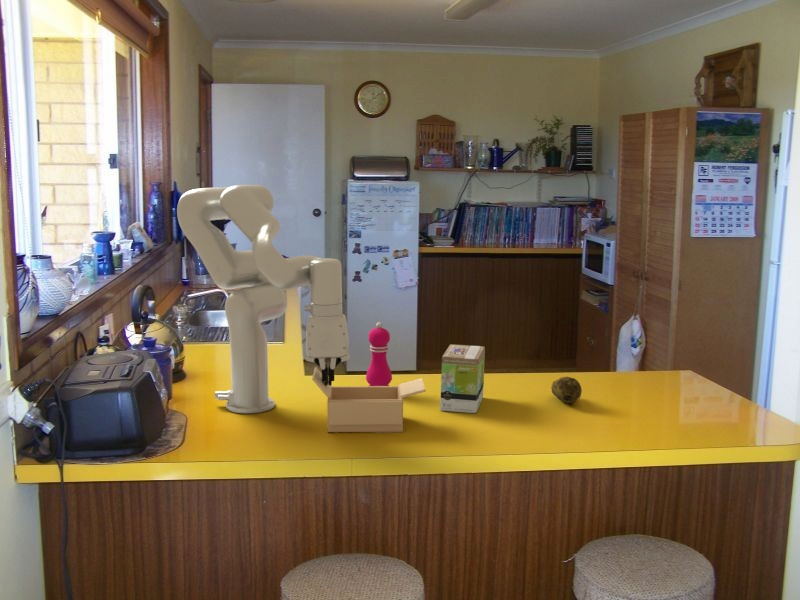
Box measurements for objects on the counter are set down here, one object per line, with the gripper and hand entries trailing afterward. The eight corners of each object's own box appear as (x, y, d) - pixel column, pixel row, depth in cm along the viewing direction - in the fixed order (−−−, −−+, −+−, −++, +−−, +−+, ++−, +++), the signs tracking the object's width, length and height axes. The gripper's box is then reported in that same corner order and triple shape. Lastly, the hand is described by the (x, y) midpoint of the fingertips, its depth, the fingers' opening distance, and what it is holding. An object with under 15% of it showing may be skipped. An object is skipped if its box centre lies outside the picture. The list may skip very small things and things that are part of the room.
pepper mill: (388, 397, 231) (389, 325, 227) (363, 395, 232) (363, 324, 229) (394, 389, 238) (394, 320, 234) (369, 388, 239) (369, 319, 236)
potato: (582, 397, 232) (583, 369, 230) (580, 411, 220) (581, 381, 218) (551, 395, 234) (552, 367, 232) (548, 409, 222) (549, 379, 220)
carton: (327, 433, 201) (327, 401, 200) (329, 416, 214) (329, 385, 213) (402, 433, 202) (403, 400, 201) (400, 415, 215) (400, 385, 214)
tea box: (477, 414, 217) (479, 358, 214) (439, 411, 219) (440, 356, 216) (484, 397, 232) (485, 344, 229) (447, 395, 234) (448, 342, 231)
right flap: (400, 395, 202) (425, 389, 202) (399, 384, 212) (422, 377, 212) (401, 398, 202) (425, 391, 202) (399, 386, 212) (422, 380, 212)
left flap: (331, 385, 211) (316, 366, 210) (330, 396, 201) (314, 377, 200) (329, 386, 211) (314, 368, 210) (328, 398, 201) (312, 379, 200)
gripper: (294, 313, 198) (296, 389, 202) (357, 312, 199) (359, 387, 202) (296, 307, 206) (298, 380, 209) (357, 306, 207) (358, 379, 210)
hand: (328, 383), depth 206 cm, fingers closed
